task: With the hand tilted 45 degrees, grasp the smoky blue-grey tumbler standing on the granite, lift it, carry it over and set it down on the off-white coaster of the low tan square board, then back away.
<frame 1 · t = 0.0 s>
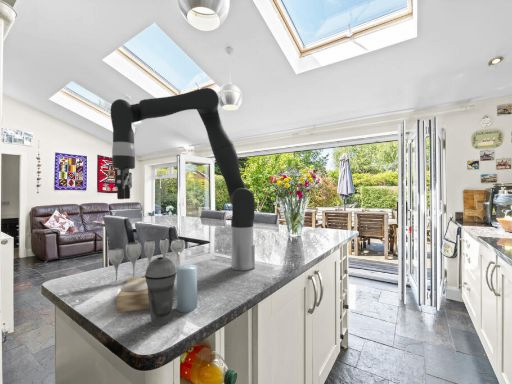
hand: (124, 199, 94), 29 cm above the counter, tool pointing down, fingers open, 8 cm apart
tumbler: (187, 307, 69), on the counter
beverage cup: (161, 321, 62), on the counter
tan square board: (145, 298, 75), on the counter
goblet set: (150, 275, 97), on the counter
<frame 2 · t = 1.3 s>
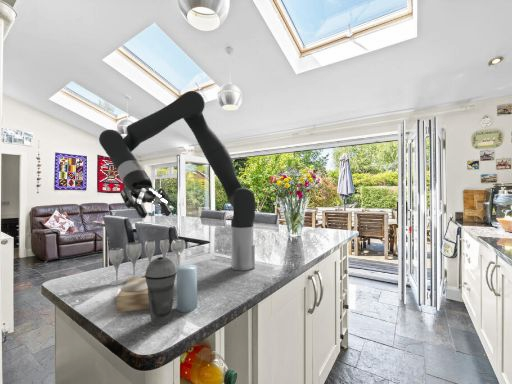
hand: (157, 215, 75), 25 cm above the counter, tool tilted 45°, fingers open, 8 cm apart
nothing on the counter moved.
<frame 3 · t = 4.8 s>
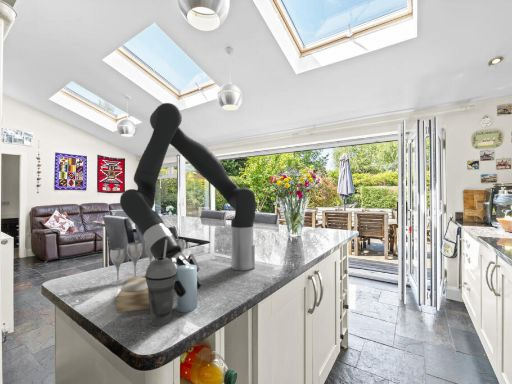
hand: (191, 291, 68), 5 cm above the counter, tool tilted 45°, fingers closed on tumbler, 5 cm apart
tumbler: (187, 307, 69), on the counter, touching gripper
beverage cup: (161, 321, 62), on the counter, touching hand
everything else where it was.
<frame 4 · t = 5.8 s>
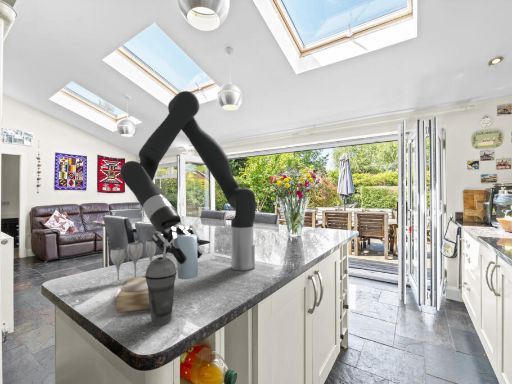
hand: (192, 258, 68), 13 cm above the counter, tool tilted 45°, fingers closed on tumbler, 5 cm apart
tumbler: (187, 275, 69), point 9 cm above the counter, touching gripper
beverage cup: (161, 321, 62), on the counter
everything else where it was.
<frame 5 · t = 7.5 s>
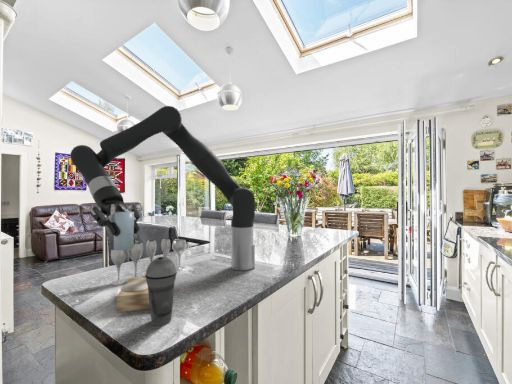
hand: (127, 233, 76), 19 cm above the counter, tool tilted 45°, fingers closed on tumbler, 5 cm apart
tumbler: (123, 248, 77), point 15 cm above the counter, touching gripper
everything else where it was.
when the fingers open (11 cm above the counter, at t = 10.5 s): tumbler drops 1 cm, resting on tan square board.
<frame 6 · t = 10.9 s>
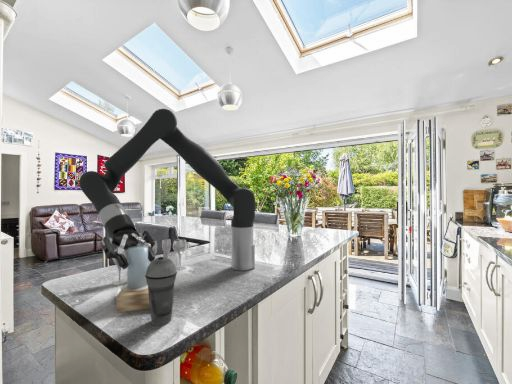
hand: (140, 263, 73), 11 cm above the counter, tool tilted 45°, fingers open, 8 cm apart
tumbler: (137, 285, 73), point 5 cm above the counter, touching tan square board
everything else where it was.
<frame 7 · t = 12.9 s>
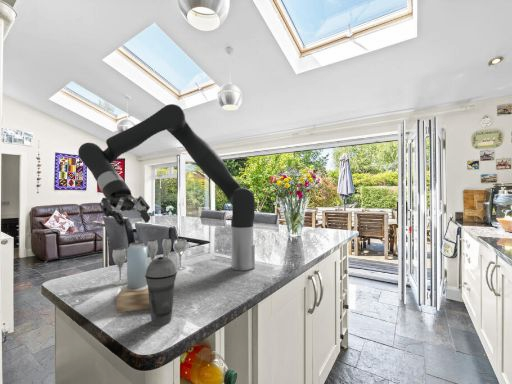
hand: (136, 222, 80), 22 cm above the counter, tool tilted 45°, fingers open, 8 cm apart
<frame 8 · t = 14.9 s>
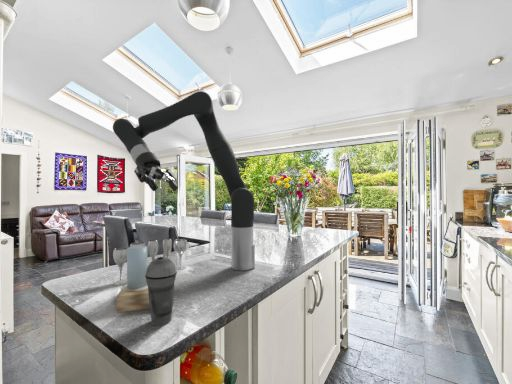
hand: (166, 189, 88), 33 cm above the counter, tool tilted 45°, fingers open, 8 cm apart
at the end: tumbler inside the target area on the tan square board (1.1 cm from its centre), point 4.5 cm above the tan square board's base; tumbler tilted 1°; the gripper is holding nothing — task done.
